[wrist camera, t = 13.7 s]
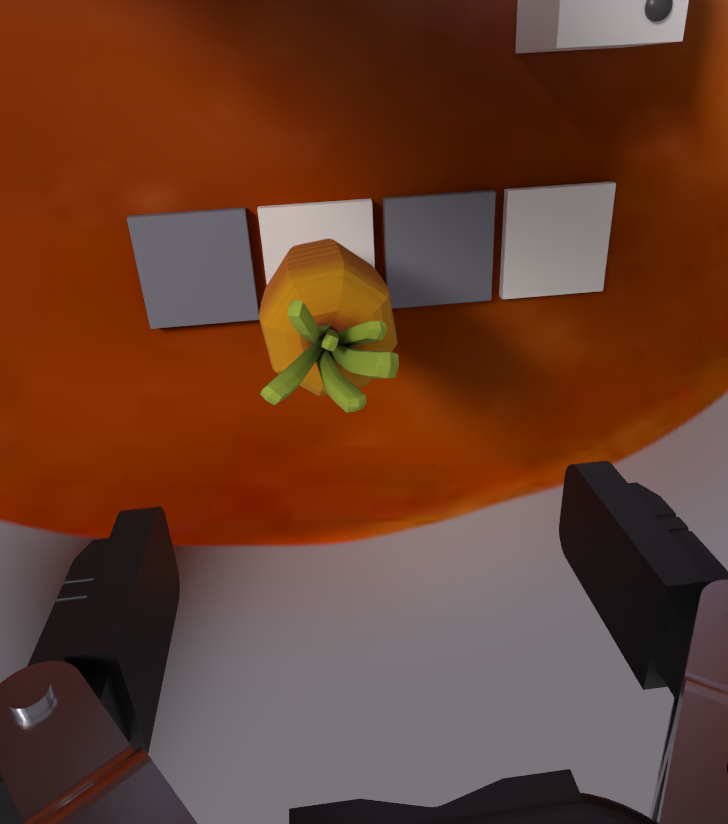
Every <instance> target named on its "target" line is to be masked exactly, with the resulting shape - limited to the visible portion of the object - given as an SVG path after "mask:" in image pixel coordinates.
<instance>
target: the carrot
mask: <svg viewBox="0 0 728 824" xmlns="http://www.w3.org/2000/svg"><path fill="white" fill-rule="evenodd" d="M259 320H260V323H261V327H262V331H263V334H264V338H265V342H266V345H267V349H268V353H269V357H270V360H271V364H272V368H273V370H274V371H275V372H277V373H279V375H278V376H277V377H276V378H274V379H273V380H272V381H271V382H269V383H268V384H267V386H266V387H265V388H264V389H263V390H262V392H261V395H262V396H263V397H264V399H265V400H266V401H268V402H270V403H272V404H273V405H275V404H277V403H278V402H280V401H282V400H283V399H285V398H286V397H288V396H289V395H290V394H291V393H292V392H293V391H294V390H295V389H296V388H297V387H298V386H299V385H300V386H302V387H304V388H305V389H307V390H309V391H311V392H312V393H314V394H316V395H318V396H321V395H325V394H329V395H330V397H331V398H332V399H333V400H334V401H335V402H336V404H338V405H339V406H340V407H341V408H342V409H343V410H345V411H346V412H355V411H358V410H360V409H362V408H364V406H365V405H366V403H367V402H366V396H365V395H364V394H363V393H362V392H361V391H360V390H359V389H358V387H363V386H367V385H368V384H369V383H370V381H371V380H372V378H394V377H395V376H396V373H397V370H398V367H399V362H398V354H396V353H392V351H393V349H394V348H395V347H396V345H397V343H398V342H397V336H396V330H395V324H394V318H393V312H392V306H391V300H390V295H389V289H388V287H387V285H386V284H385V282H384V281H383V279H382V278H381V276H380V275H379V274H378V272H377V271H376V270H375V269H374V267H373V266H372V265H371V264H369V263H368V262H366V261H365V260H363V259H362V258H360V257H359V256H357V255H356V254H354V253H353V252H351V251H350V250H348V249H347V248H345V247H344V246H342V245H341V244H339V243H338V242H336V241H335V240H333V239H323V240H319V241H314V242H309V243H304V244H300V245H296V246H293V247H292V248H291V249H289V251H288V253H287V254H286V256H285V257H284V259H283V261H282V262H281V264H280V265H279V267H278V269H277V270H276V272H275V273H274V275H273V277H272V278H271V280H270V281H269V283H268V285H267V286H266V288H265V292H264V295H263V298H262V302H261V307H260V312H259Z"/></svg>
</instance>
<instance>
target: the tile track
mask: <svg viewBox="0 0 728 824" xmlns="http://www.w3.org/2000/svg"><path fill="white" fill-rule="evenodd" d="M615 189H616V183H614V182H598V183H584V184H569V185H555V186H541V187H527V188H513V189H504V205H503V226H502V247H501V268H500V289H499V296H500V297H501V298H502V299H513V298H525V297H537V296H549V295H561V294H573V293H585V292H597V291H603V286H604V278H605V270H606V262H607V254H608V246H609V237H610V229H611V221H612V213H613V205H614V197H615ZM495 199H496V192H495V191H493V190H485V191H470V192H456V193H442V194H428V195H414V196H400V197H385V198H383V216H384V244H385V272H386V285H387V287H388V289H389V295H390V300H391V306H392V309H393V308H405V307H417V306H429V305H441V304H453V303H465V302H477V301H489V300H491V295H492V271H493V247H494V223H495ZM258 217H259V225H260V233H261V241H262V250H263V258H264V266H265V274H266V282H267V285H268V283H269V281H270V280H271V278H272V277H273V275H274V273H275V272H276V270H277V269H278V267H279V265H280V264H281V262H282V261H283V259H284V257H285V256H286V254H287V253H288V251H289V249H291V248H292V247H293V246H296V245H300V244H304V243H309V242H314V241H319V240H323V239H333V240H335V241H336V242H338V243H339V244H341V245H342V246H344V247H345V248H347V249H348V250H350V251H351V252H353V253H354V254H356V255H357V256H359V257H360V258H362V259H363V260H365V261H366V262H368V263H369V264H371V265H372V266H373V267H374V269H375V259H374V236H373V213H372V200H371V199H357V200H343V201H329V202H315V203H301V204H286V205H272V206H258ZM127 221H128V226H129V231H130V235H131V240H132V245H133V249H134V254H135V259H136V263H137V268H138V273H139V277H140V282H141V287H142V291H143V296H144V301H145V305H146V310H147V315H148V319H149V324H150V329H154V328H166V327H178V326H190V325H202V324H214V323H226V322H238V321H249V320H259V308H258V301H257V293H256V285H255V278H254V270H253V262H252V255H251V247H250V239H249V232H248V224H247V217H246V209H245V207H244V208H230V209H216V210H202V211H187V212H173V213H159V214H145V215H131V216H128V217H127Z"/></svg>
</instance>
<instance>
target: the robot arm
mask: <svg viewBox="0 0 728 824" xmlns="http://www.w3.org/2000/svg"><path fill="white" fill-rule="evenodd" d="M559 535H560V542H561V547H562V550H563V553H564V555H565V557H566V559H567V561H568V563H569V564H570V566H571V568H572V569H573V571H574V573H575V574H576V576H577V578H578V580H579V581H580V583H581V585H582V586H583V588H584V590H585V591H586V593H587V595H588V597H589V598H590V600H591V602H592V603H593V605H594V607H595V608H596V610H597V612H598V614H599V615H600V617H601V619H602V620H603V622H604V624H605V625H606V627H607V629H608V630H609V632H610V634H611V636H612V637H613V639H614V641H615V642H616V644H617V646H618V648H619V649H620V651H621V653H622V654H623V656H624V658H625V660H626V661H627V663H628V664H629V666H630V668H631V670H632V671H633V673H634V675H635V677H636V678H637V680H638V682H639V683H640V685H641V687H642V688H643V690H645V689H652V688H661V687H668V688H669V689H670V691H671V693H672V694H673V696H674V701H673V705H672V709H671V713H670V718H669V723H668V728H667V733H666V738H665V743H664V748H663V752H662V757H661V762H660V767H659V772H658V777H657V782H656V787H655V792H654V797H653V801H652V806H651V810H650V814H649V817H647V816H645V815H643V814H642V813H640V812H638V811H636V810H633V809H632V808H630V807H628V806H625V805H623V804H620V803H618V802H615V801H612V800H610V799H607V798H603V797H599V796H595V795H591V794H585V793H580V792H579V789H578V787H577V785H576V782H575V780H574V777H573V775H572V772H571V770H570V769H567V770H560V771H553V772H546V773H539V774H532V775H525V776H518V777H511V778H504V779H501V780H499V781H496V782H494V783H492V784H489V785H487V786H485V787H483V788H481V789H478V790H476V791H474V792H471V793H469V794H467V795H465V796H462V797H460V798H458V799H456V800H453V801H451V802H449V803H447V804H444V805H441V806H438V807H423V806H414V805H407V804H399V803H390V802H382V801H374V800H365V799H355V800H349V801H341V802H334V803H327V804H319V805H312V806H305V807H298V808H291V809H289V824H728V571H727V570H726V569H725V568H724V567H723V566H722V564H721V563H720V562H719V561H718V560H717V559H716V558H715V557H714V555H712V553H711V552H710V551H709V550H708V549H707V548H706V547H705V546H704V544H703V543H702V542H701V541H700V540H699V539H698V538H697V537H696V535H695V534H694V533H693V532H692V531H689V530H688V527H687V525H686V524H685V523H684V522H683V521H682V520H681V519H680V518H679V517H676V513H675V512H674V511H673V510H672V509H671V508H670V507H669V505H667V503H666V502H665V501H664V500H663V499H662V498H661V497H660V496H659V495H657V494H655V493H654V492H652V491H650V490H649V489H647V488H645V487H643V486H642V485H640V484H638V483H627V482H626V481H625V479H624V478H623V477H622V476H621V475H620V473H619V472H618V471H617V470H616V469H615V468H614V466H613V465H612V464H611V463H610V462H608V461H600V462H591V463H581V464H572V465H569V466H568V467H567V469H566V472H565V479H564V488H563V497H562V506H561V515H560V523H559ZM179 594H180V582H179V572H178V566H177V562H176V558H175V554H174V549H173V545H172V541H171V537H170V533H169V529H168V524H167V520H166V516H165V513H164V510H163V509H162V507H152V508H142V509H132V510H123V511H120V512H119V514H118V516H117V519H116V521H115V524H114V527H113V529H112V532H111V535H110V537H109V538H108V539H98V540H93V541H92V542H91V543H90V544H89V545H88V546H87V547H86V548H85V549H84V550H83V551H82V552H81V553H80V554H79V555H78V556H77V557H76V558H75V559H74V560H73V563H72V565H71V567H70V569H69V572H68V575H67V576H66V579H65V585H63V586H62V588H61V590H60V592H59V595H58V597H57V602H55V604H54V606H53V609H52V611H51V613H50V616H49V618H48V620H47V622H46V625H45V627H44V629H43V631H42V634H41V636H40V638H39V641H38V643H37V645H36V648H35V650H34V652H33V654H32V657H31V659H30V661H29V664H28V666H27V667H25V668H23V669H21V670H20V671H17V672H16V673H14V674H12V675H11V676H9V677H8V678H6V679H5V680H4V681H2V682H1V683H0V824H197V823H196V821H195V820H194V818H193V817H192V815H191V814H190V813H189V811H188V810H187V808H186V807H185V806H184V804H183V803H182V801H181V800H180V799H179V797H178V796H177V794H176V793H175V792H174V790H173V789H172V787H171V786H170V785H169V783H168V782H167V780H166V779H165V778H164V776H163V775H162V773H161V772H160V771H159V769H158V768H157V766H156V765H155V764H154V762H153V761H152V759H151V758H150V757H149V755H148V752H149V747H150V742H151V737H152V732H153V727H154V722H155V717H156V712H157V707H158V702H159V697H160V692H161V687H162V682H163V677H164V672H165V667H166V662H167V657H168V652H169V647H170V642H171V637H172V633H173V628H174V622H175V617H176V613H177V608H178V603H179Z"/></svg>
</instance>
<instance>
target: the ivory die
mask: <svg viewBox="0 0 728 824" xmlns="http://www.w3.org/2000/svg"><path fill="white" fill-rule="evenodd" d="M688 3H689V0H518V4H517V24H516V44H515V54H516V53H534V52H552V51H570V50H588V49H606V48H624V47H633V46H643V45H652V44H662V43H672V42H681V41H683V35H684V29H685V22H686V16H687V9H688Z"/></svg>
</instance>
